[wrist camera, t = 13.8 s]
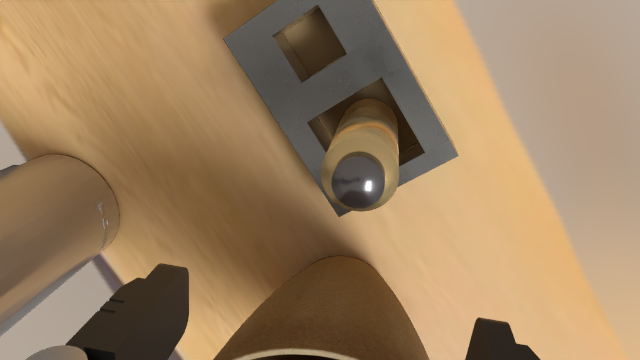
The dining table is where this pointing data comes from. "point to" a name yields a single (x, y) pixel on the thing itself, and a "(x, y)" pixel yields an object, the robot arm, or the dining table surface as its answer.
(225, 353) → the plant pot
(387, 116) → the spice shaker
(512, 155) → the dining table surface
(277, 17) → the steel socket block
